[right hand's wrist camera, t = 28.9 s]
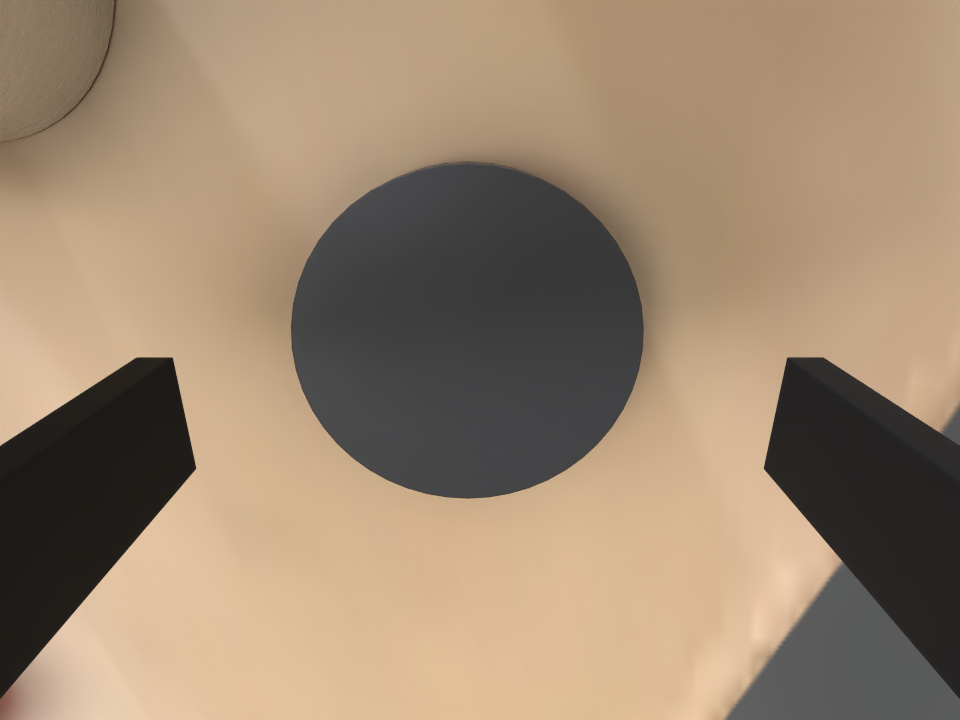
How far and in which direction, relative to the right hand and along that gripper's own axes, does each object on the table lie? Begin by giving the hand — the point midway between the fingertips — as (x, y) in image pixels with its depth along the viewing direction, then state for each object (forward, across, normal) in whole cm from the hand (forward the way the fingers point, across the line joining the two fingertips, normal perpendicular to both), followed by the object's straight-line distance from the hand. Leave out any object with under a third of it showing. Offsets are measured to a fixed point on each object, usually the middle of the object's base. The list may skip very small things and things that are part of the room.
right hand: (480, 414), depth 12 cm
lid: (+6, 0, 0) cm, 6 cm away
